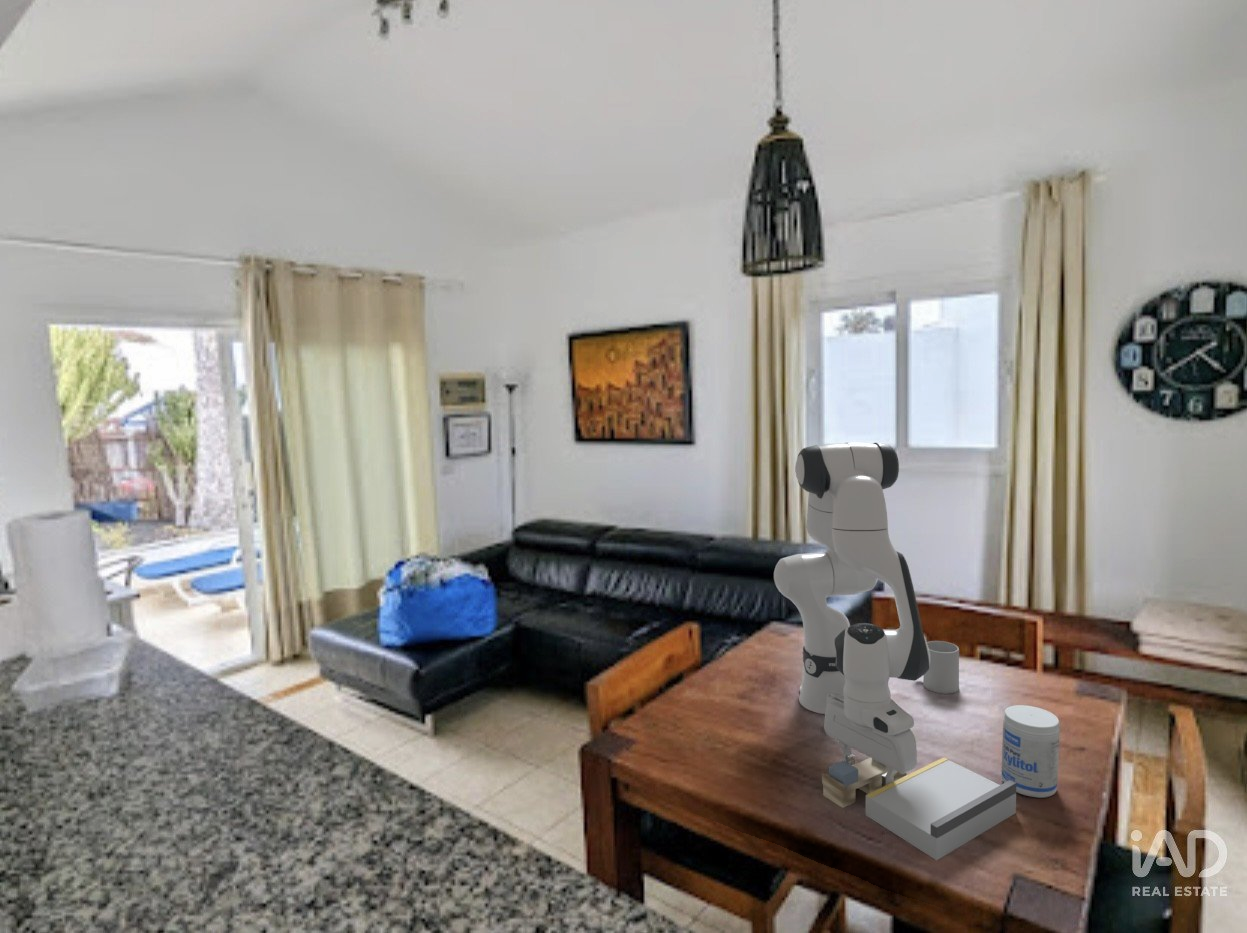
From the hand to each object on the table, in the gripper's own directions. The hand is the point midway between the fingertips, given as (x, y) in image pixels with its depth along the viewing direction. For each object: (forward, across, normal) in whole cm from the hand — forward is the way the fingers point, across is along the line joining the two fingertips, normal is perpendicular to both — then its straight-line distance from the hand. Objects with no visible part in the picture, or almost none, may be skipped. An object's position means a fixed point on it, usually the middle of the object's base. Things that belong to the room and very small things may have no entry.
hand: (868, 773), depth 138 cm
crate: (0, -1, -6) cm, 6 cm away
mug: (+2, -21, +51) cm, 55 cm away
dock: (+3, +13, +4) cm, 14 cm away
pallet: (+3, -1, 0) cm, 3 cm away
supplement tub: (+3, +18, +26) cm, 31 cm away
